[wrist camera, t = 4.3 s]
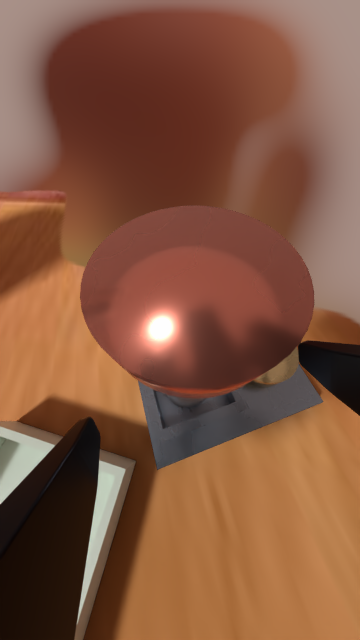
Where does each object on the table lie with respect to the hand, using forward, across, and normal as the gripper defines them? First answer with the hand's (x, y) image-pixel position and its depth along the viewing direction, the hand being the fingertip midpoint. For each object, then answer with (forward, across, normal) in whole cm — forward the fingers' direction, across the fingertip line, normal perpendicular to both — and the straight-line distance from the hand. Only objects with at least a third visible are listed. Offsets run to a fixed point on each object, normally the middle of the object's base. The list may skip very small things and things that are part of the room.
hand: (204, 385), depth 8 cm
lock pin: (+7, 0, +5) cm, 9 cm away
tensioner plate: (+8, -3, +6) cm, 11 cm away
